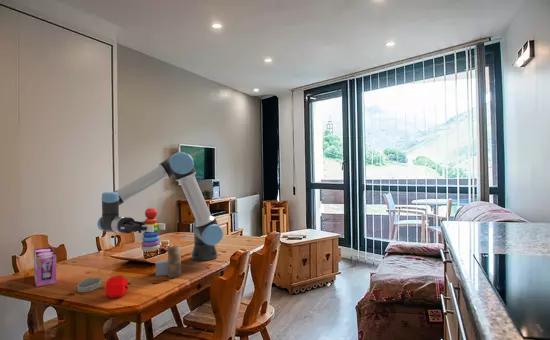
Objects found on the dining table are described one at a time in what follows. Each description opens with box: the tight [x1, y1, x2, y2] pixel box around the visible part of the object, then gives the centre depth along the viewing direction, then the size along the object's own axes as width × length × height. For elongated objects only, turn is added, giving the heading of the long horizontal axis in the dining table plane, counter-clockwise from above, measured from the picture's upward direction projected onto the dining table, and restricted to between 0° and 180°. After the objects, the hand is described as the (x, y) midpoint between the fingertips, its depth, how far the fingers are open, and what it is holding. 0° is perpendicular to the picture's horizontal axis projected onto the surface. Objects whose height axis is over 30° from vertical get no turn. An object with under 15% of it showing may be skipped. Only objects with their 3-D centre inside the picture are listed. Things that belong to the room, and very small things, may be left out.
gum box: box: [33, 246, 57, 287], centre depth 157 cm, size 24×8×14 cm, turn 39°
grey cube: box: [155, 259, 168, 277], centre depth 163 cm, size 6×6×6 cm
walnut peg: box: [167, 245, 182, 279], centre depth 158 cm, size 6×6×14 cm
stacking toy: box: [140, 207, 161, 252], centre depth 146 cm, size 8×8×19 cm
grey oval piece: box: [77, 276, 102, 293], centre depth 142 cm, size 9×6×5 cm
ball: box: [104, 274, 129, 299], centre depth 133 cm, size 8×8×8 cm
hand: (158, 227), depth 144 cm, fingers closed on stacking toy, 6 cm apart
